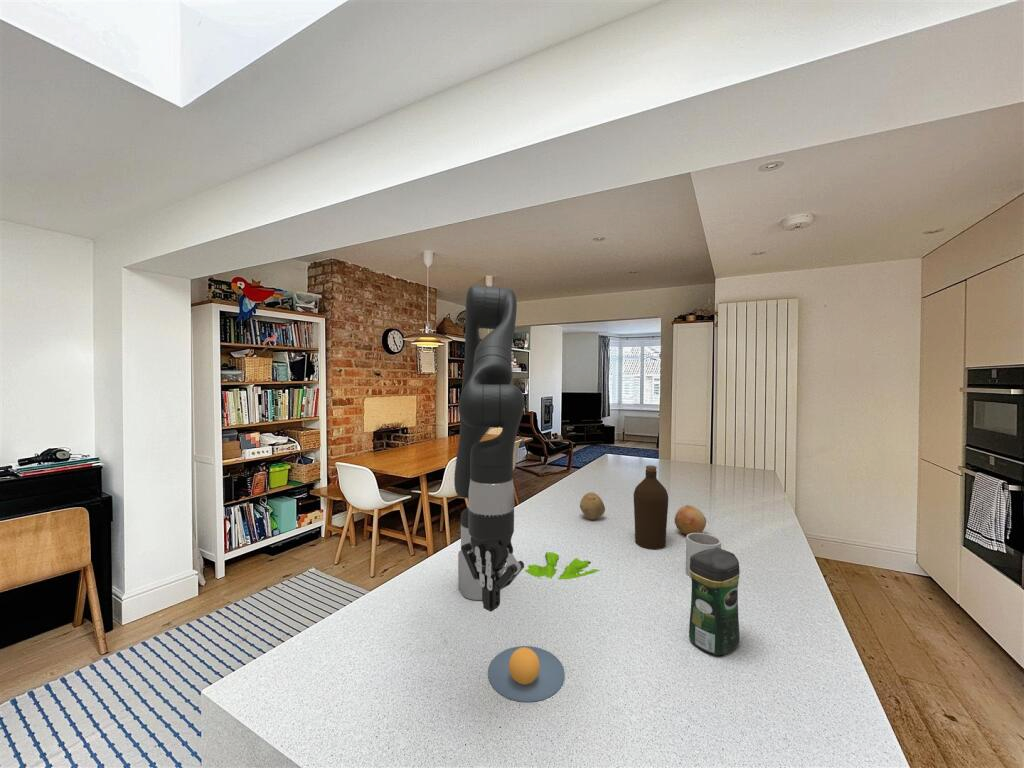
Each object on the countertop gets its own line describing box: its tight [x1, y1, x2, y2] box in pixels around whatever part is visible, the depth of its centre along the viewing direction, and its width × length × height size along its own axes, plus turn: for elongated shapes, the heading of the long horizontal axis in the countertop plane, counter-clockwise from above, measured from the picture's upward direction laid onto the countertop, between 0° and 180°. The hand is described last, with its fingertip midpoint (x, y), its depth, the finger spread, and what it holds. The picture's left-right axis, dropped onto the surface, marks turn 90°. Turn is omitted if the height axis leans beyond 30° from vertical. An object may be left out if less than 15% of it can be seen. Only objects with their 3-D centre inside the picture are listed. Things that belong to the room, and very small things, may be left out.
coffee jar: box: [688, 547, 741, 656], centre depth 85 cm, size 10×8×19 cm
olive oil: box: [633, 465, 669, 550], centre depth 134 cm, size 11×11×25 cm
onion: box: [674, 504, 707, 536], centre depth 141 cm, size 10×10×10 cm
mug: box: [685, 532, 722, 579], centre depth 114 cm, size 12×9×10 cm
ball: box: [509, 647, 540, 685], centre depth 74 cm, size 6×6×6 cm
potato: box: [579, 492, 606, 521], centre depth 156 cm, size 9×9×10 cm
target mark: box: [487, 645, 566, 703], centre depth 76 cm, size 14×14×1 cm
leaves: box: [524, 551, 601, 580], centre depth 119 cm, size 20×22×2 cm
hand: (490, 608), depth 69 cm, fingers closed
